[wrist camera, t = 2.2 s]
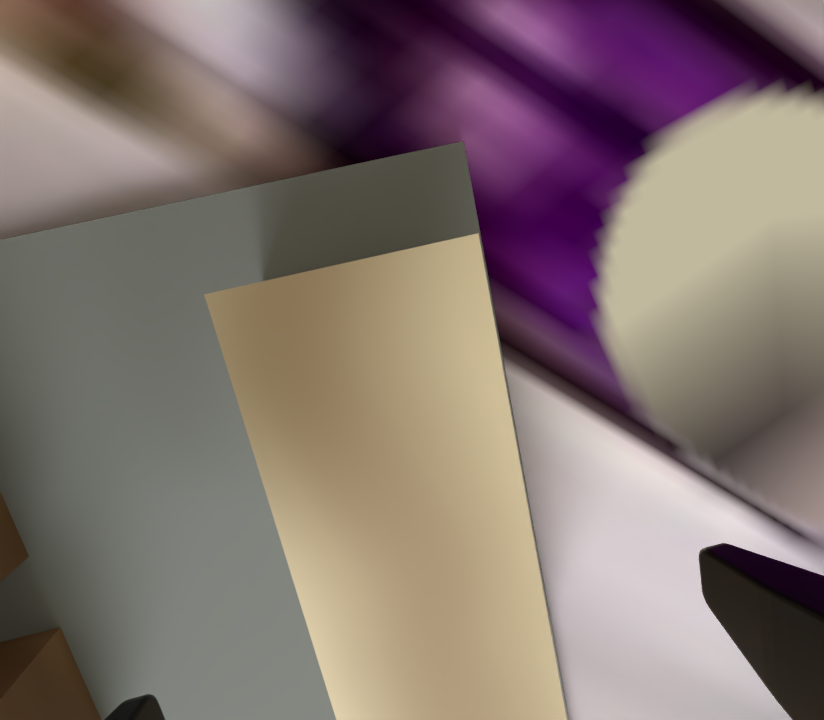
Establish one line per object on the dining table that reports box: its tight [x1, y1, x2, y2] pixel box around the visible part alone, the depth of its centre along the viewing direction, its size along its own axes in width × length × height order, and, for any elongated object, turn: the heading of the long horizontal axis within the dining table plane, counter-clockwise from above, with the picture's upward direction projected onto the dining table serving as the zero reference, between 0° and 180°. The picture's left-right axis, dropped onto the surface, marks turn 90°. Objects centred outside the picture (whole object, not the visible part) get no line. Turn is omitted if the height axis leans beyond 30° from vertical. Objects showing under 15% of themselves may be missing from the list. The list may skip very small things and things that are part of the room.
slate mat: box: [0, 141, 568, 720], centre depth 12 cm, size 20×18×1 cm
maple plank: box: [204, 233, 567, 720], centre depth 10 cm, size 4×12×4 cm, turn 12°
